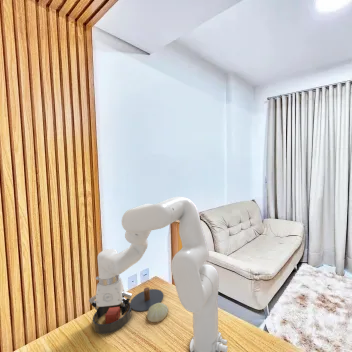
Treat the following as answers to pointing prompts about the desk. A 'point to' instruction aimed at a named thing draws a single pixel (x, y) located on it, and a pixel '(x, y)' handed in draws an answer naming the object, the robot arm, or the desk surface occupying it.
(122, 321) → the pot
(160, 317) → the sea urchin shell
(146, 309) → the pot lid
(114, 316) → the block
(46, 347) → the desk surface
